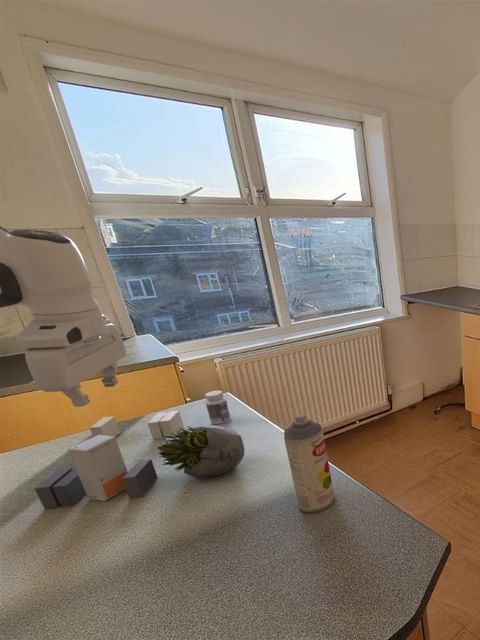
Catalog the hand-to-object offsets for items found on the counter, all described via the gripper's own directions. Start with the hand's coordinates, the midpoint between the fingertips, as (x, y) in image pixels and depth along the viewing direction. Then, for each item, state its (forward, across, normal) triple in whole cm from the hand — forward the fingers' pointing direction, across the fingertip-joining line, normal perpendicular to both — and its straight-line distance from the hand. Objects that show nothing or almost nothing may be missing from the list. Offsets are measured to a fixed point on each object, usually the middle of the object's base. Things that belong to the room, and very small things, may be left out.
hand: (97, 394), depth 83 cm
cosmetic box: (+22, 0, -4) cm, 23 cm away
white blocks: (+22, -26, -9) cm, 35 cm away
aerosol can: (+22, +14, +38) cm, 46 cm away
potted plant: (+22, -3, +14) cm, 26 cm away
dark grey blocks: (+22, 0, -5) cm, 23 cm away
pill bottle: (+22, -31, +8) cm, 39 cm away
